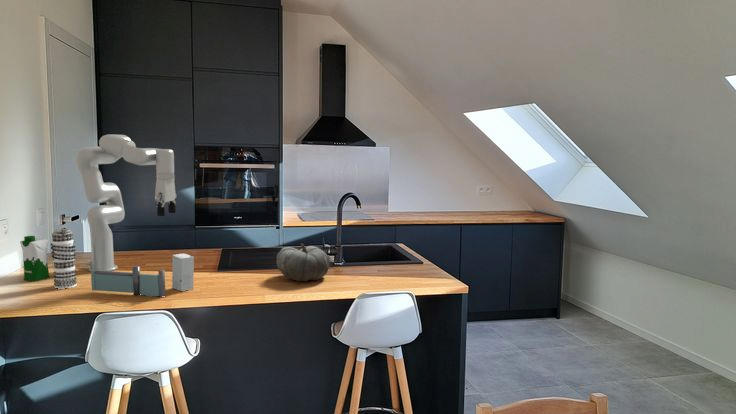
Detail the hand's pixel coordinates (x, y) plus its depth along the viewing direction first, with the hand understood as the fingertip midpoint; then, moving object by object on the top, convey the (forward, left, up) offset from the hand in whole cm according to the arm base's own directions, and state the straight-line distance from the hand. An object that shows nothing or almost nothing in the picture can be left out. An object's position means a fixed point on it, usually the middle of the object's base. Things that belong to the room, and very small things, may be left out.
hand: (166, 214), depth 231 cm
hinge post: (0, -25, -30) cm, 39 cm away
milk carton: (-58, -12, -31) cm, 67 cm away
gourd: (+60, +15, -31) cm, 69 cm away
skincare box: (+14, -13, -31) cm, 36 cm away
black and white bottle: (-37, -20, -31) cm, 52 cm away
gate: (-11, -25, -29) cm, 40 cm away
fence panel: (+7, -24, -30) cm, 40 cm away
